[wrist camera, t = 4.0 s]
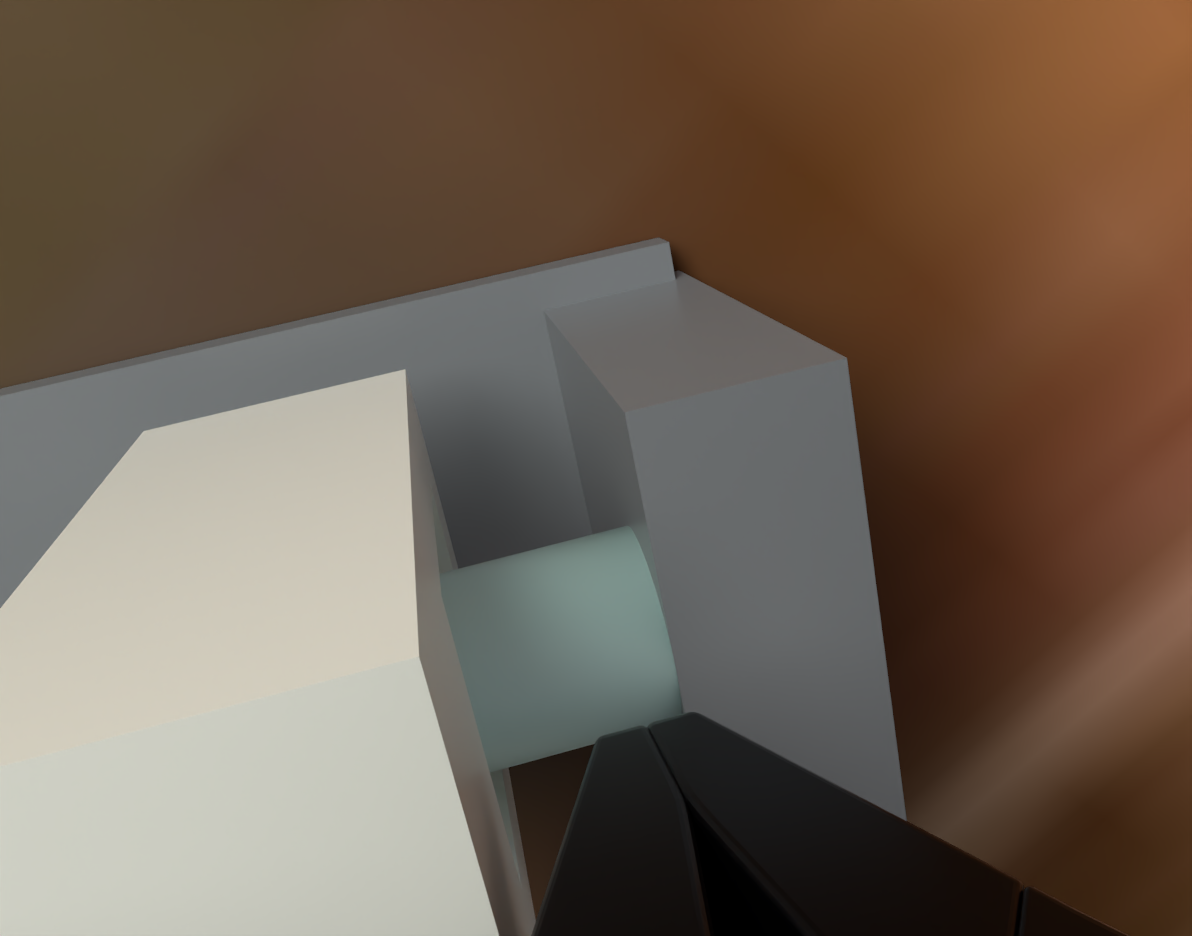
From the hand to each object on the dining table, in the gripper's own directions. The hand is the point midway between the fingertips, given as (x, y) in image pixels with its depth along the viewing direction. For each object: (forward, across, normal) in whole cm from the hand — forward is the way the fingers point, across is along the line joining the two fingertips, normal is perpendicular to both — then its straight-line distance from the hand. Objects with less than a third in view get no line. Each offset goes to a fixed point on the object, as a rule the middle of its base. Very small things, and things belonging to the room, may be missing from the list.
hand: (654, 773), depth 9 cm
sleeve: (+5, +3, 0) cm, 6 cm away
